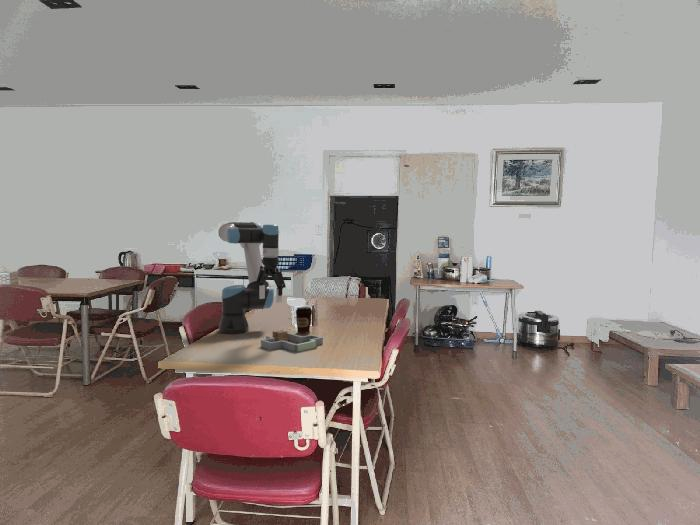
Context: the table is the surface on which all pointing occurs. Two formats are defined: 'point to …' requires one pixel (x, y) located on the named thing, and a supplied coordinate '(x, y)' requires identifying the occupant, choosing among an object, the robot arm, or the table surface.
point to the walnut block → (280, 335)
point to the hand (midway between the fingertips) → (270, 300)
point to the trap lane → (305, 341)
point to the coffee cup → (303, 319)
